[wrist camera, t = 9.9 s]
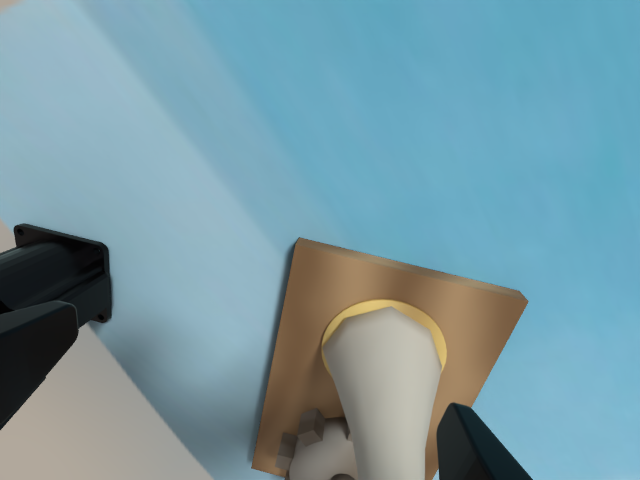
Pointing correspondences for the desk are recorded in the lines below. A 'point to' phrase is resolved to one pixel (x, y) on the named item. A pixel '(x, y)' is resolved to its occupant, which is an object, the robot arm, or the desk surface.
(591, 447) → the desk surface
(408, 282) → the gear board
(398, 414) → the flask
